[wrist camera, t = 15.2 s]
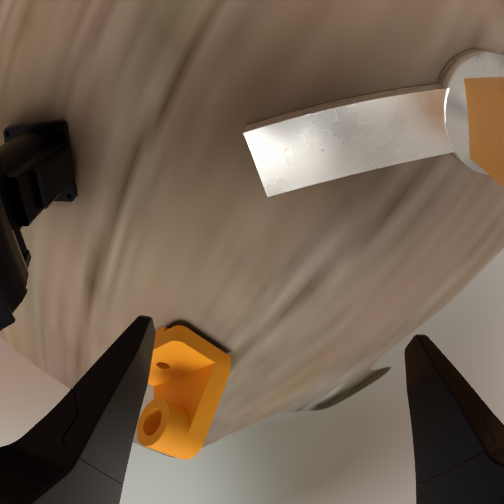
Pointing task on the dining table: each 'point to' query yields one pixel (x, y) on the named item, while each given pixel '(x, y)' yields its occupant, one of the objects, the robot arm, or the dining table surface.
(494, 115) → the orange rectangular block
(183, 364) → the bracket
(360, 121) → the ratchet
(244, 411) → the dining table surface
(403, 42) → the dining table surface
